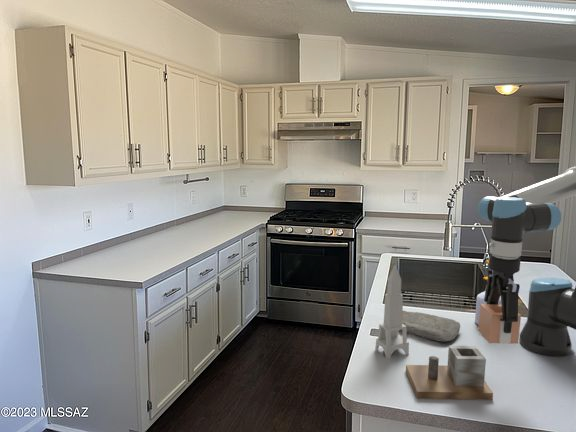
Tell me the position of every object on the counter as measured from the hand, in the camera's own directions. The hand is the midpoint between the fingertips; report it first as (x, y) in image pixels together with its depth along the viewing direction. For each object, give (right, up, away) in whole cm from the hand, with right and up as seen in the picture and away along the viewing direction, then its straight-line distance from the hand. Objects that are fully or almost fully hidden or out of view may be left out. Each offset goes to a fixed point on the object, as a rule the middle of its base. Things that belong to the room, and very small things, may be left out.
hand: (497, 335), depth 120 cm
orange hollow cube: (0, 0, 0) cm, 0 cm away
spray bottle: (+18, -8, +44) cm, 48 cm away
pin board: (-12, -15, +4) cm, 20 cm away
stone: (-9, -9, +40) cm, 42 cm away
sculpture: (-23, -12, +24) cm, 35 cm away
